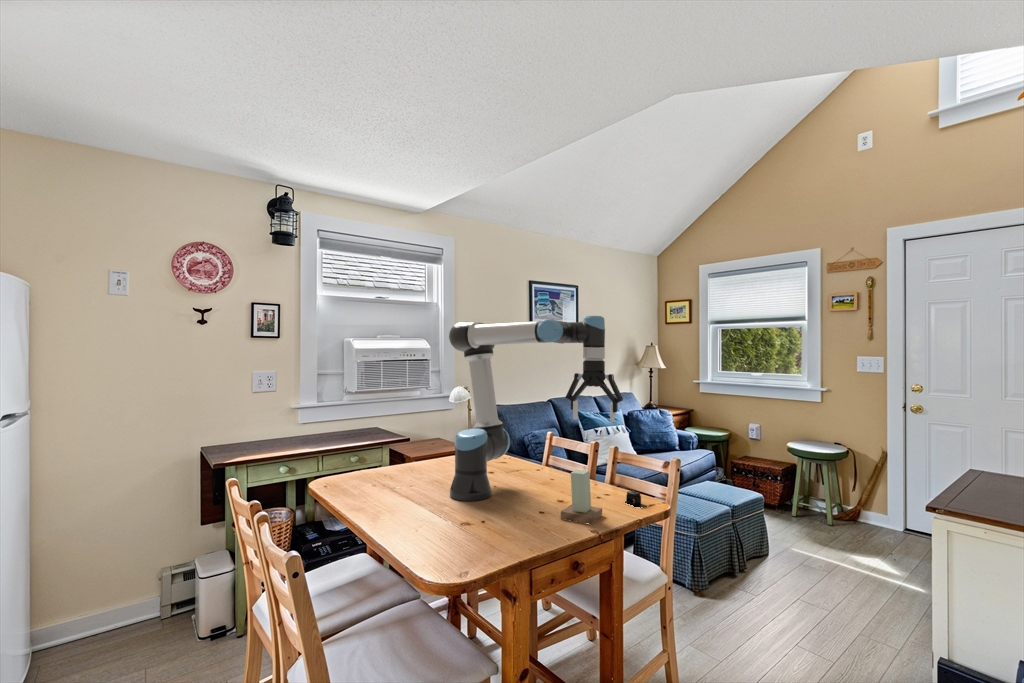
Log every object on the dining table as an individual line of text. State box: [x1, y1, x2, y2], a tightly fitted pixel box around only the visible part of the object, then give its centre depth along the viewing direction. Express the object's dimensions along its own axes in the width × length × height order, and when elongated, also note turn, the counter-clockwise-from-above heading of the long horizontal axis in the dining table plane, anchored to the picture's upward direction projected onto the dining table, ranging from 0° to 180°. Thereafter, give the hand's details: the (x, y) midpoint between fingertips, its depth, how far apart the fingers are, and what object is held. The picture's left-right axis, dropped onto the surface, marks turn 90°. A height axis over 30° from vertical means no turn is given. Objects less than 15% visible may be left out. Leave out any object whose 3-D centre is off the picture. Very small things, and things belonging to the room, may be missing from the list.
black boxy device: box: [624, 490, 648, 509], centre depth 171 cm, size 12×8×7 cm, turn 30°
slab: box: [560, 503, 603, 525], centre depth 157 cm, size 10×10×3 cm
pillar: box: [570, 469, 592, 513], centre depth 156 cm, size 4×4×12 cm
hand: (593, 420), depth 172 cm, fingers open, 13 cm apart
